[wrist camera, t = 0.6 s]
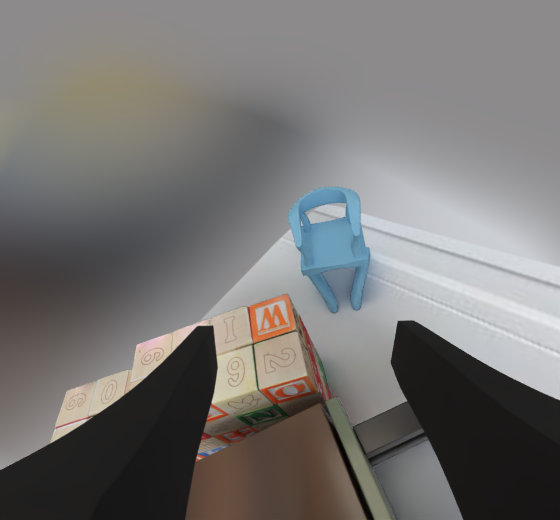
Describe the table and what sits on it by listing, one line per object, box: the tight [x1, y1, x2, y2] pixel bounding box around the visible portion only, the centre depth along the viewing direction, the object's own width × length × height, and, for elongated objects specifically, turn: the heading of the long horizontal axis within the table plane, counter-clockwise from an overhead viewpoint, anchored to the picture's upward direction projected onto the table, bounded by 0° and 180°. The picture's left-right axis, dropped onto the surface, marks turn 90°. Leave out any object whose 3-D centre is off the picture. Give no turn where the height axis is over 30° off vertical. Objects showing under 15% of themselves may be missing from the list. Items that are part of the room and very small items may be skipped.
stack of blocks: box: [50, 294, 332, 461], centre depth 24 cm, size 21×6×12 cm, turn 100°
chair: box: [288, 187, 370, 313], centre depth 31 cm, size 8×8×12 cm
